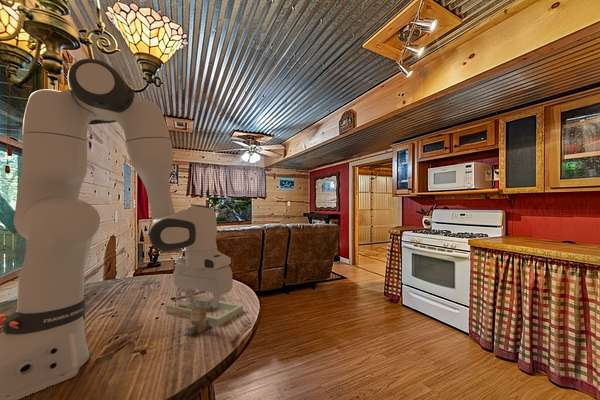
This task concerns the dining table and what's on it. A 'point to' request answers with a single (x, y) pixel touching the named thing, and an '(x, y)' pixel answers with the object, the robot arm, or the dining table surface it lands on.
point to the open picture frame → (234, 311)
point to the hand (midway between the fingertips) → (202, 304)
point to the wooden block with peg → (198, 320)
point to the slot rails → (181, 309)
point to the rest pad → (197, 333)
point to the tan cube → (187, 304)
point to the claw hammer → (185, 296)
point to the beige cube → (204, 302)
